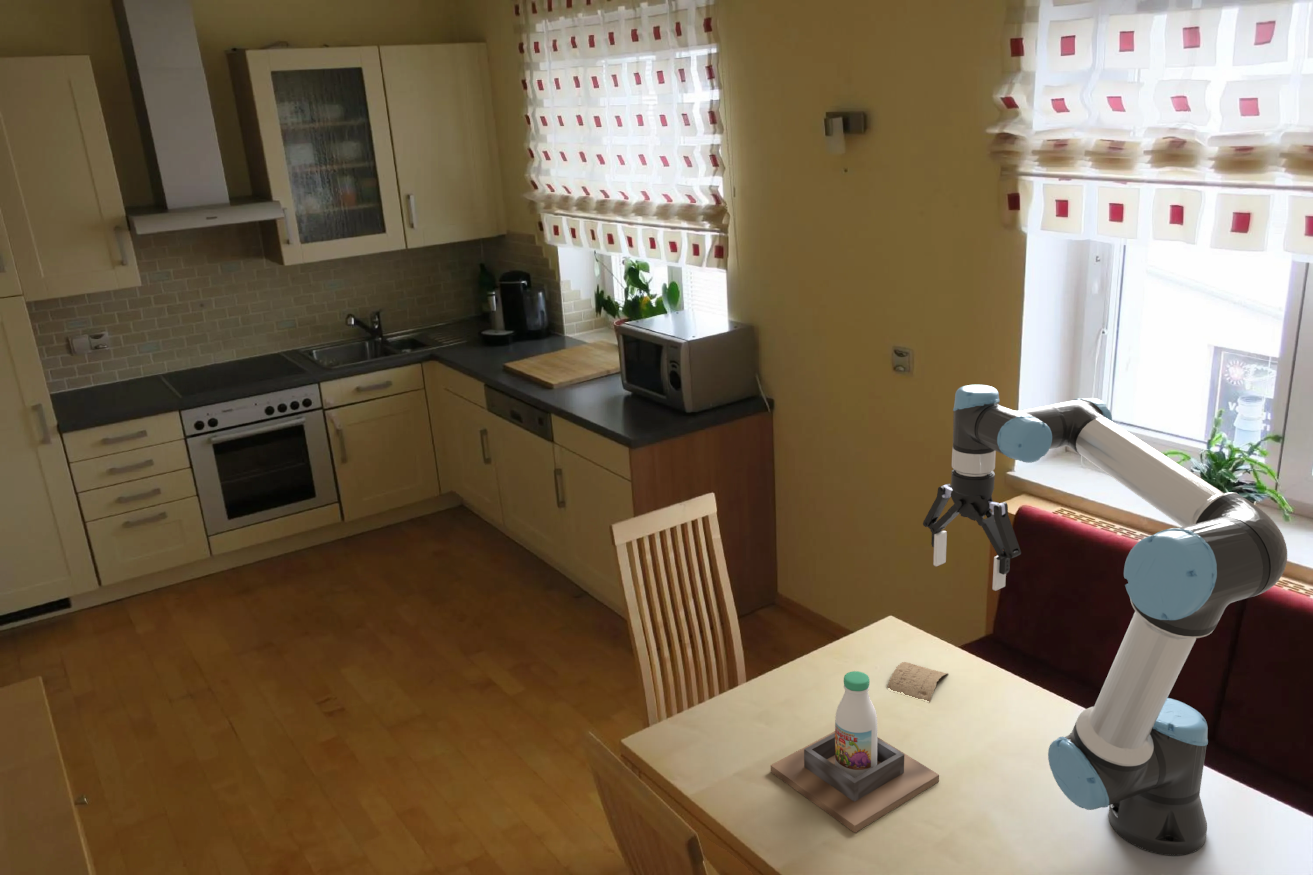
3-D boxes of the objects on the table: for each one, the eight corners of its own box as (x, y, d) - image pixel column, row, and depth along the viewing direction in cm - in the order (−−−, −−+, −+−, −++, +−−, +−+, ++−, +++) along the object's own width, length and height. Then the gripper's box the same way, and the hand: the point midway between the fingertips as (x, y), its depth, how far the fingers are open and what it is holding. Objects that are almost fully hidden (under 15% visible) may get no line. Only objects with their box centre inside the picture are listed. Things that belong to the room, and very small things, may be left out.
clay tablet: (929, 706, 213) (930, 695, 212) (883, 694, 218) (883, 683, 218) (950, 673, 224) (951, 663, 224) (906, 662, 230) (906, 652, 229)
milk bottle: (847, 752, 197) (847, 661, 190) (884, 766, 192) (885, 673, 186) (827, 773, 191) (827, 680, 185) (864, 788, 186) (865, 693, 180)
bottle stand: (938, 781, 189) (939, 756, 188) (854, 832, 177) (855, 806, 176) (852, 727, 206) (852, 704, 205) (770, 771, 195) (770, 747, 193)
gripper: (1046, 482, 177) (1038, 592, 184) (932, 448, 197) (929, 549, 204) (1019, 493, 173) (1012, 605, 180) (906, 457, 193) (903, 559, 200)
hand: (968, 575), depth 192 cm, fingers open, 13 cm apart
